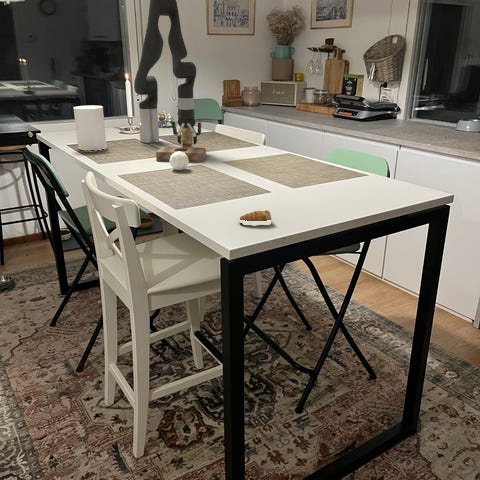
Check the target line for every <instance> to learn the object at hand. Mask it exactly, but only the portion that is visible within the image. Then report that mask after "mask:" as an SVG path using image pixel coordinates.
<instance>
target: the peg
mask: <svg viewBox="0 0 480 480" xmlns="http://www.w3.org/2000/svg"><path fill="white" fill-rule="evenodd" d="M181 145H182V146H181V147H193V148H194V146H193V145H194V143H193V133H192V132H191V130H190V128H182V133H181Z"/></svg>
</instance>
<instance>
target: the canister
mask: <svg viewBox="0 0 480 480" xmlns="http://www.w3.org/2000/svg"><path fill="white" fill-rule="evenodd" d="M73 113H74V114H73V115H74V122H75V123H74V124H75V132H76V141H77V148H78V149H77V150H79V149H81V150H100V151H103V150H102V149H104V150H106V148H107V147H108V145H107V137H106V126H105V117H104V116H105V115H104V106H102V105H79V106H73ZM107 149H108V148H107Z"/></svg>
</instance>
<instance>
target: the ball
mask: <svg viewBox="0 0 480 480" xmlns="http://www.w3.org/2000/svg"><path fill="white" fill-rule="evenodd" d="M169 163H170V167H171V168H172V169H173V170H175V171H178V170H180V171H183V170H186V168H187V167H188V165H189V163H190V162H189V160H188V157H187V155H186V154H185V153H184V152H180V151H178V152H175V153H173V154H172V155H171V157H170V161H169Z"/></svg>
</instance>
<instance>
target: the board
mask: <svg viewBox="0 0 480 480" xmlns="http://www.w3.org/2000/svg"><path fill="white" fill-rule="evenodd" d="M206 149H207V148H206V147H194V146H193V147H183V146H181V147H180V146H162V147H161V148H159V149H158V150H156V151H155V158H156V159H155V161H157V162H170V157H171V155H172V154H173V153H175V152H178V151H180V152H184V153H185V154H186V155H187V157H188V160H189V162H188V163H201V162H203V160H204V159H205V158H206V157H207V156H206V155H207V153H206V152H207V151H206Z"/></svg>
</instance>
